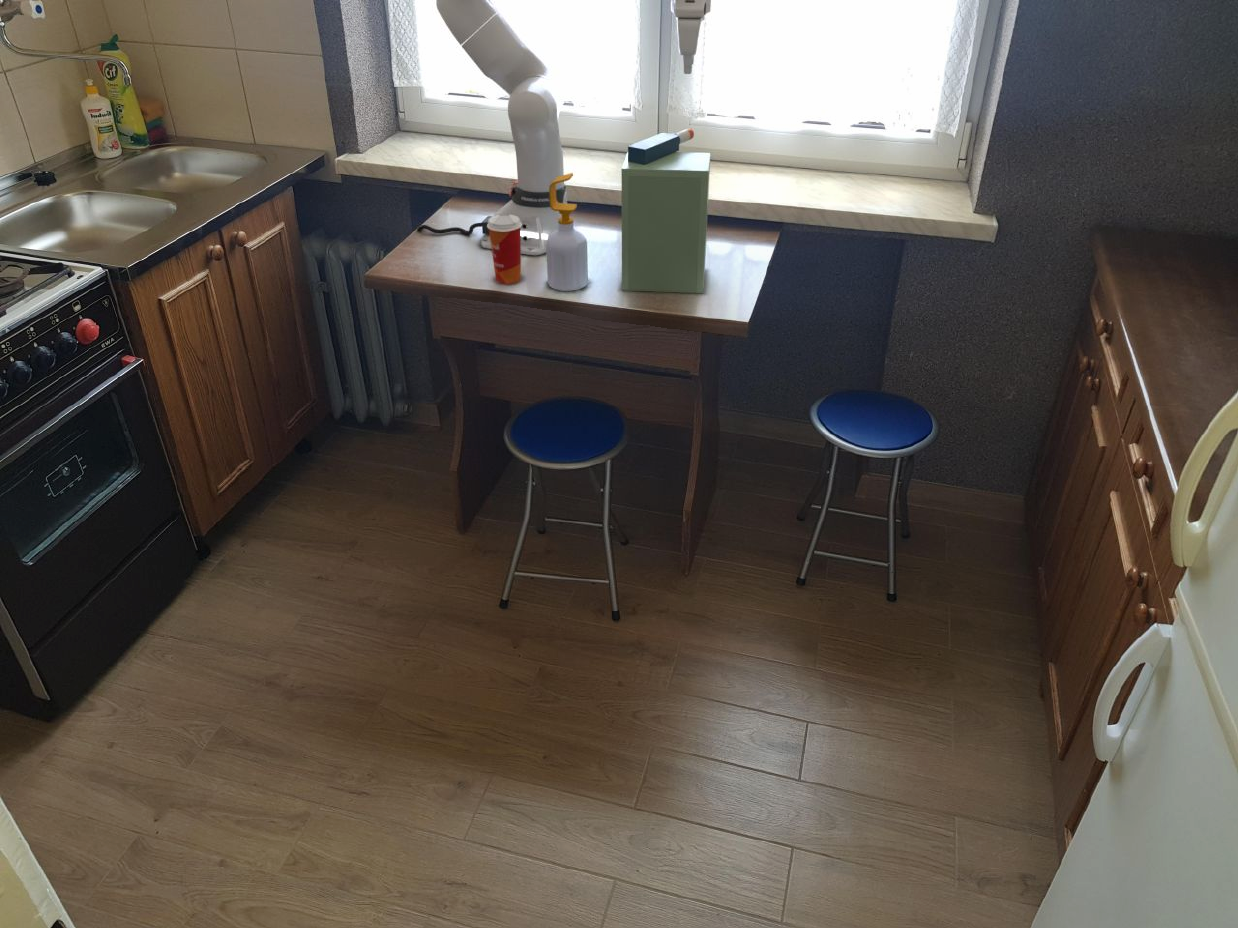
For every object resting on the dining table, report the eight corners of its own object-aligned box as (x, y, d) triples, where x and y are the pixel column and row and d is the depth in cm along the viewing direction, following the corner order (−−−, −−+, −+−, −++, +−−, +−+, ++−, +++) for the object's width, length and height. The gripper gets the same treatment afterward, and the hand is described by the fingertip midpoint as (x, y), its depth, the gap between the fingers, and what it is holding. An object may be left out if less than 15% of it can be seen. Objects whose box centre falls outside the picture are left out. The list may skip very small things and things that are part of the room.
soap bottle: (583, 293, 211) (579, 182, 197) (543, 290, 213) (537, 180, 199) (592, 277, 218) (589, 170, 205) (553, 274, 220) (548, 167, 206)
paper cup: (492, 273, 221) (486, 214, 213) (525, 272, 221) (521, 213, 213) (491, 286, 214) (485, 226, 206) (525, 285, 215) (521, 225, 207)
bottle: (681, 139, 215) (681, 125, 213) (697, 142, 213) (698, 128, 211) (627, 161, 201) (627, 146, 200) (644, 165, 199) (645, 149, 197)
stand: (627, 267, 223) (627, 150, 208) (704, 270, 221) (710, 153, 206) (621, 290, 212) (621, 168, 197) (702, 293, 211) (708, 171, 196)
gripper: (679, -4, 221) (677, 59, 229) (674, 10, 205) (672, 78, 212) (706, -4, 221) (703, 60, 229) (703, 10, 204) (700, 79, 212)
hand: (688, 69), depth 220 cm, fingers open, 8 cm apart
